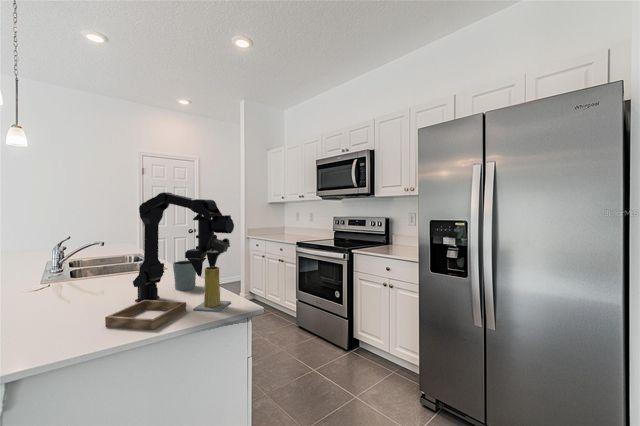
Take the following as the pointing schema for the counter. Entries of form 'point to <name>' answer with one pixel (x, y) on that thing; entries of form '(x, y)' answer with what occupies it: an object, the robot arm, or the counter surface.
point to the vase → (212, 287)
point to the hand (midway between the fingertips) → (206, 273)
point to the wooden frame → (125, 321)
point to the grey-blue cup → (184, 275)
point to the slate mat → (213, 309)
